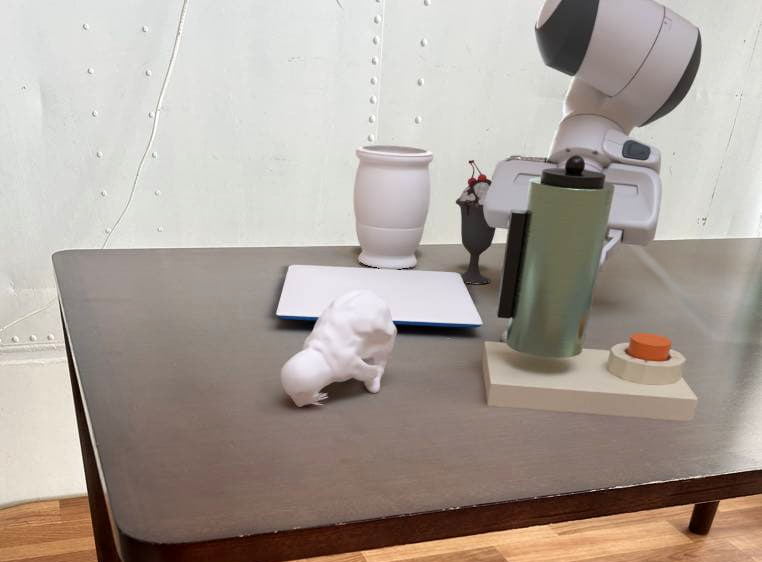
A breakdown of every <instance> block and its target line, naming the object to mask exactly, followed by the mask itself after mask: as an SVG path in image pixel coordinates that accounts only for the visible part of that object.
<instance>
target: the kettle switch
mask: <svg viewBox="0 0 762 562" xmlns="http://www.w3.org/2000/svg"><path fill="white" fill-rule="evenodd" d="M628 343H629V347H628V352H627V355H629V356H631V357H633V358H637V359H641V360H645V361H657V362H662V361H667V359H668V355H669V351H670V349H671V348H672V343H673V342H672V340H671V339H670V338H667V337H666V336H663V335H659V334H654V333H645V332H644V333H643V332H642V333H634V334H632V335H631V336H630V338H629V342H628Z"/></svg>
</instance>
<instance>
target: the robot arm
mask: <svg viewBox="0 0 762 562" xmlns="http://www.w3.org/2000/svg"><path fill="white" fill-rule="evenodd" d="M534 35H535V41H536V44H537V45H536V46H537V48H538V51H539V54H540V57H541V59H542V62H543V64H544V65H545V66H546V67H549V68H550V69H553V70H555V71H557V72H560V73H562V74H565V75H567V76H570V77H571V80H570V83H569V86H568V89H567V90H566V95H565V98H564V100H563V106H562V118H561V120H560V121H559V122H558V124H557V126H556V129H555V130H554V134H553V137H552V141H551V143H550V148H549V149H548V150H549V151H548V154H547V156H546V157H544V156H523V155H522V154H521V155H519V154H511V155H510V156H509V157H506V158H502V159H501V160H499V161H497V163H496V164H495V166H494V170H493V172H492V173H493V174H492V176H491V181H492V183H491V185H490V187H489V190H488V192H487V194H486V197H485V200H484V203H483V211H484V217H485V220H486V222H487V224H488V225H489V226H490V227H494V228H496V229H502V230H504V229H505V230H508V226H509V218H510V211H511V209H512V210H524V211H525V210H526V203H527V196H528V189H529V182H530V179H532V178H536V177H541V175H542V170H544V169H549V168H565V164H566V161H567V160H568V159H569V158H570V157H571V156H574V155H578V156H580V157H582V158H583V159H584V162H585V168H584V170H588V171H594V172H599V173H602V174H605V175H606V177H605V183H609V184H611V185H613V186H614V187H615V189H614V194H613V199H612V204H611V209H610V214H609V219H608V224H607V229H606V234H605V239H604V242H607V243H606V244H605V245H604V246H603V249H602V254H601V259H600V265H599V270H598V273H599V272H600V273H603V271H604V269H605V265H606V262H607V261H608V260H609V259H610V258H611V257H613V256H614V255H615V254H616V253H617V252H618V251H619V250H620V247H621V244H625V245H633V246H641V247H645V246H646V247H647V246H648V245H649V244H650V243H652V242H653V241H654V240H655V238H656V233H657V228H658V225H659V224H658V223H659V216H660V210H661V205H662V203H661V201H662V191H663V189H662V187H663V186H662V185H663V184H662V179H661V177H660V173H661V166H662V165H661V164H662V159H661V158H662V152H661V151H660V149H659V148H658V147H655V146H653V145H651V144H648V143H646V142H643V141H640V140H637V139H635V138H633V137H631V136H630V134H631V132H632V131H633V130H634V128H642V127H645V126H648V125H650V124H652V123H653V122H655V121H658V120H659V119H661V118H663V117H665V116H668V114H670V113H671V112H673V111H674V110H675V109H676V108H678V106H679V105H680V104H681V103H682V101H683V100H684V99H685V98H686V96H687V95H688V93H689V91H690V90H691V87H692V86H693V84H694V81H695V79H696V77H697V75H698V72H699V68H700V65H701V60H702V50H703V49H702V46H703V45H702V35H701V31H700V28H699V27H698V26H696V25H694V23H692V22H691V21H689V20H688V19H687V18H685V17H684V16H682V15H680V14H678V13H677V12H676V11H673V10H672V9H670V8H669V7H667V6H666V5H664V4H661V3H659V2H657V1H656V0H544V2H543V4H542V6H541V8H540V10H539V13H538V16H537V18H536V22H535V25H534Z"/></svg>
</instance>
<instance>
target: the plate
mask: <svg viewBox="0 0 762 562" xmlns="http://www.w3.org/2000/svg"><path fill="white" fill-rule="evenodd" d="M285 275H286V276H285V278H284V279H285V280H284V284H283V286H282V291H281V294H280V298H279V301H278V305H277V309H276V313H275V315H276V316H277V317H278V318H279V319H284V320H296V321H297V320H298V321H309V322H310V321H311V322H317V320H318V318H319V317H320V316H321V315H322V313H323V311H324V310H325V309H326V308H327V307H328V306H329V305H330V304H331V303H332V302H333V301H334V300H335V299H336V298H337V297H339V296H340V295H342V294H344V293H346V292H348V291H351V290H368V291H370V292H372V293H373V294H375V295H376V296H377V297H379V298H380V299H382V300H384V301H385V302H386V304H387V305H388V307H389V309H390V312H391V315H392V321H393V324H394V325H395V326H411V327H412V326H413V327H415V326H416V327H437V328H438V327H439V328H479V327H482V325H483V324H484V323H483V320H482V318H481V316H480V314H479V312H478V310H477V308H476V305H475V304H474V301H473V299H472V297H471V295H470V292H469V290H468V289H467V286H466V283H464V282H463V280H462V278H461V275H460V273H459V272H455V271H435V270H417V269H401V270H396V269H378V268H373V267H354V266H353V267H351V266H334V265H333V266H330V265H327V266H326V265H310V264H309V265H308V264H292V265H289V266H288V268H287V272H286V274H285Z"/></svg>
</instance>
